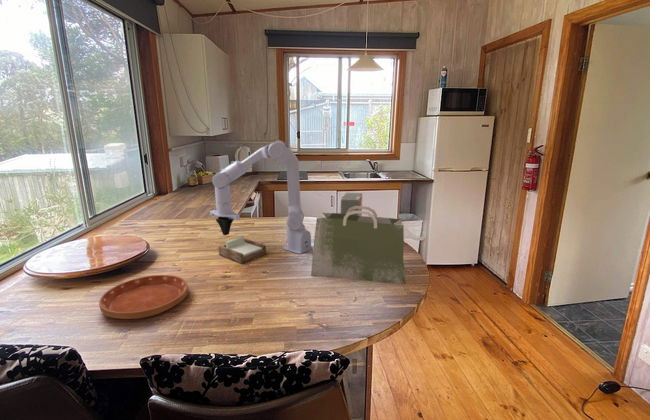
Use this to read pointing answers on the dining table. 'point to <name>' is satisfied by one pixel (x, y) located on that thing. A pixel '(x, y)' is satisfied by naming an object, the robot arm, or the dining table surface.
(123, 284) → the saucer
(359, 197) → the hard drive box
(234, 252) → the groove box
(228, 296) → the dining table surface
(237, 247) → the cover plate
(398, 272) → the grocery bag
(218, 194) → the robot arm
